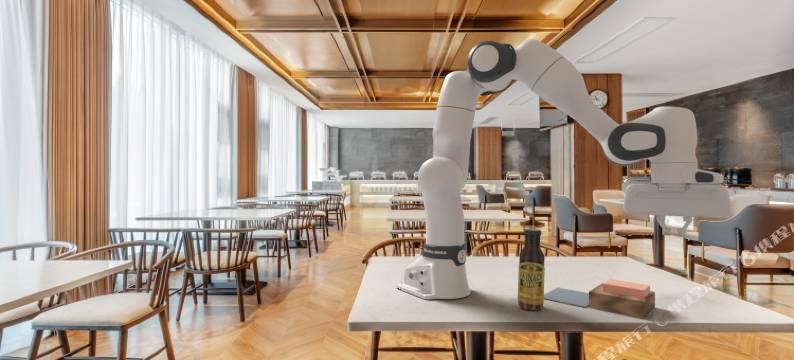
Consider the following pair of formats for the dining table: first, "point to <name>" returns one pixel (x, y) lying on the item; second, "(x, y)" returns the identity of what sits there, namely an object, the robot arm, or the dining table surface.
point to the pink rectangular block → (626, 288)
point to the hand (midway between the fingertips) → (674, 235)
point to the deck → (621, 303)
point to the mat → (568, 297)
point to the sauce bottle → (531, 272)
